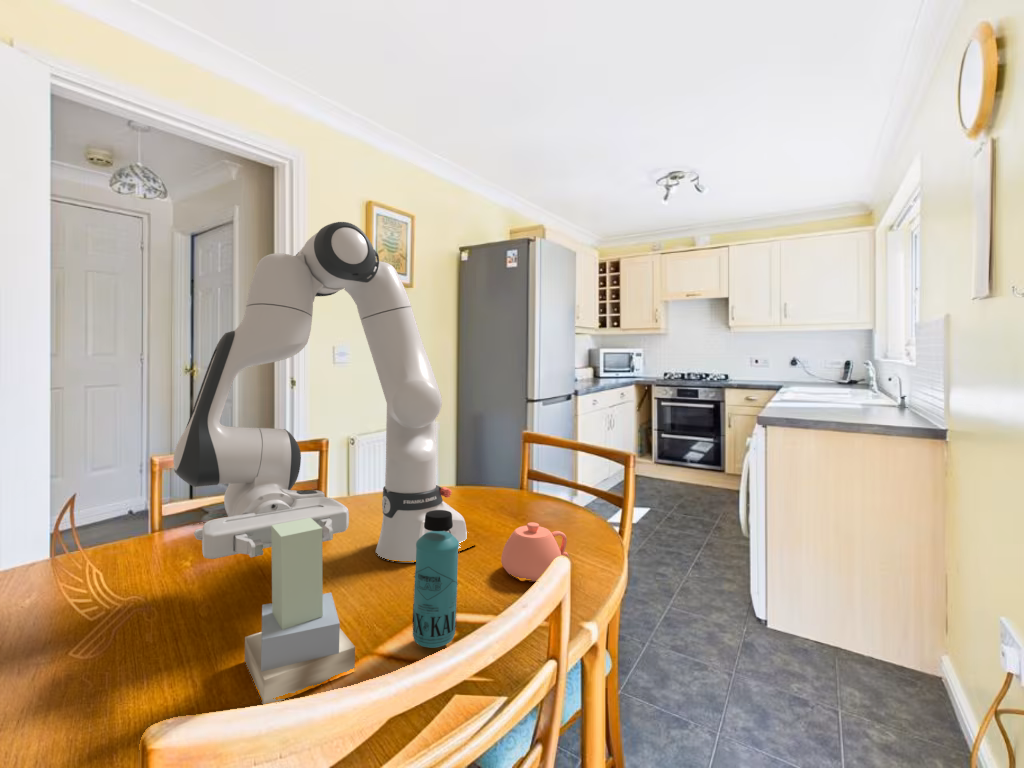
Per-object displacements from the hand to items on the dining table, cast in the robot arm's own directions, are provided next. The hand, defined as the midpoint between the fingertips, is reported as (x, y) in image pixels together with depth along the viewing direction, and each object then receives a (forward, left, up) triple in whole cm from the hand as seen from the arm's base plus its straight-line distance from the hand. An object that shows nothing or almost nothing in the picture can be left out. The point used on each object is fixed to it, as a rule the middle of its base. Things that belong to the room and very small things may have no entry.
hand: (294, 542), depth 67 cm
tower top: (0, +4, -12) cm, 13 cm away
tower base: (0, +4, -16) cm, 17 cm away
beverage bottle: (-17, +11, -16) cm, 25 cm away
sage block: (+1, +5, -8) cm, 9 cm away
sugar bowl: (-46, +2, -16) cm, 48 cm away
